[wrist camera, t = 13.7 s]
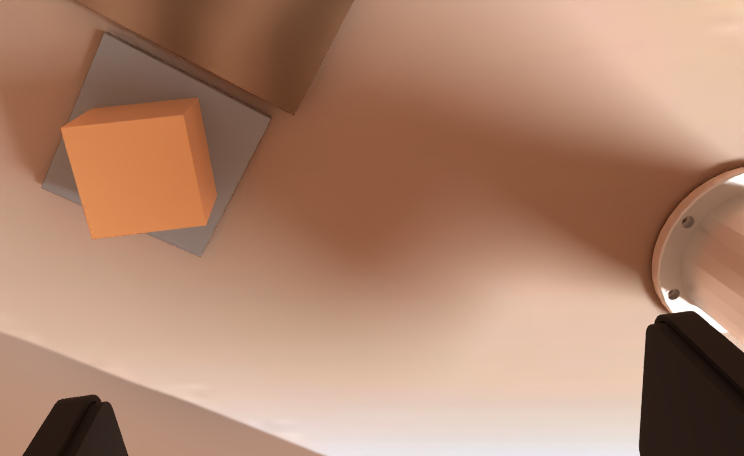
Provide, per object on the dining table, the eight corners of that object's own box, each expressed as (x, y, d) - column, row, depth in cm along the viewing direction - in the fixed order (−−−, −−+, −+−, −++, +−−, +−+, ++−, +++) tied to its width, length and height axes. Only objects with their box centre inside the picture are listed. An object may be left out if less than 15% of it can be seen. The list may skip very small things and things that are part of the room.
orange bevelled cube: (198, 97, 35) (183, 114, 31) (217, 195, 38) (206, 225, 33) (91, 108, 35) (60, 128, 30) (117, 207, 37) (91, 239, 33)
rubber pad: (271, 117, 37) (270, 119, 36) (201, 253, 40) (200, 256, 39) (107, 32, 34) (104, 33, 34) (45, 184, 37) (41, 188, 36)
